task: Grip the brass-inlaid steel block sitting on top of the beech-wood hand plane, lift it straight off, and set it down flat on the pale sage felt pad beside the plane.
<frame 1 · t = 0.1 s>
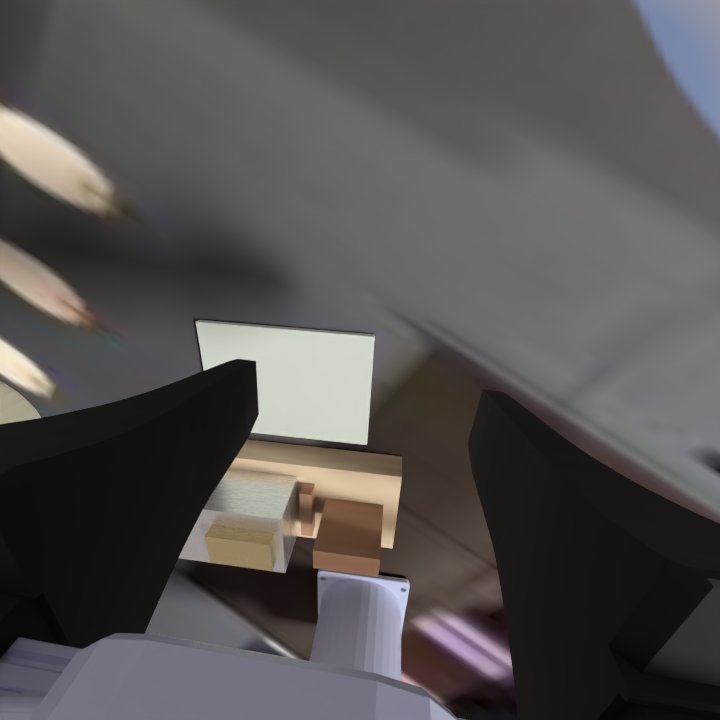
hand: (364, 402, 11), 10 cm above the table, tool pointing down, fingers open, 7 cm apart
felt pad: (287, 383, 23), on the table
hand plane: (254, 476, 27), on the table
brass-inlaid steel block: (244, 496, 25), point 2 cm above the table, touching hand plane
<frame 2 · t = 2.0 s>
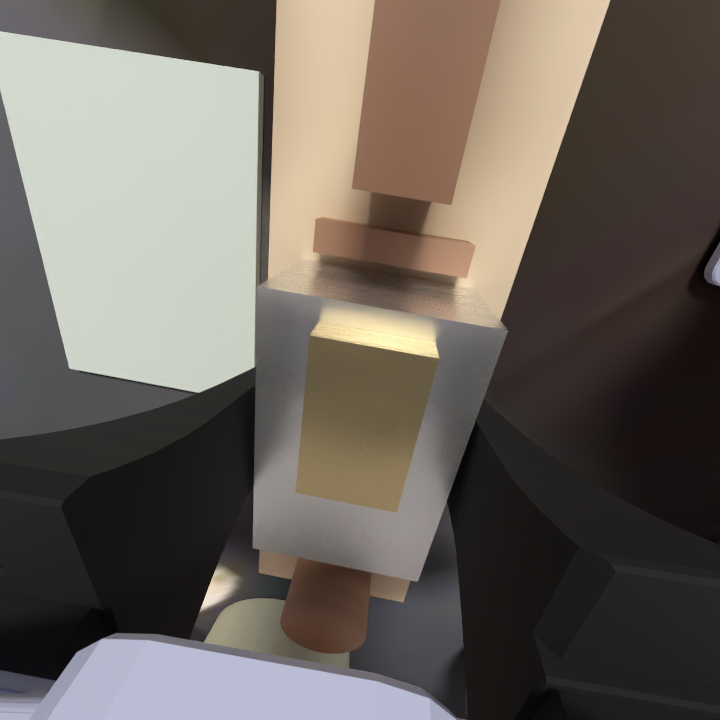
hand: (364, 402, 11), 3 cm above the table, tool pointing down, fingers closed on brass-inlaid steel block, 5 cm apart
reusable coffee cup: (283, 636, 23), on the table
felt pad: (151, 249, 12), on the table
hand plane: (370, 365, 14), on the table
brass-inlaid steel block: (366, 391, 12), point 2 cm above the table, touching gripper, hand plane
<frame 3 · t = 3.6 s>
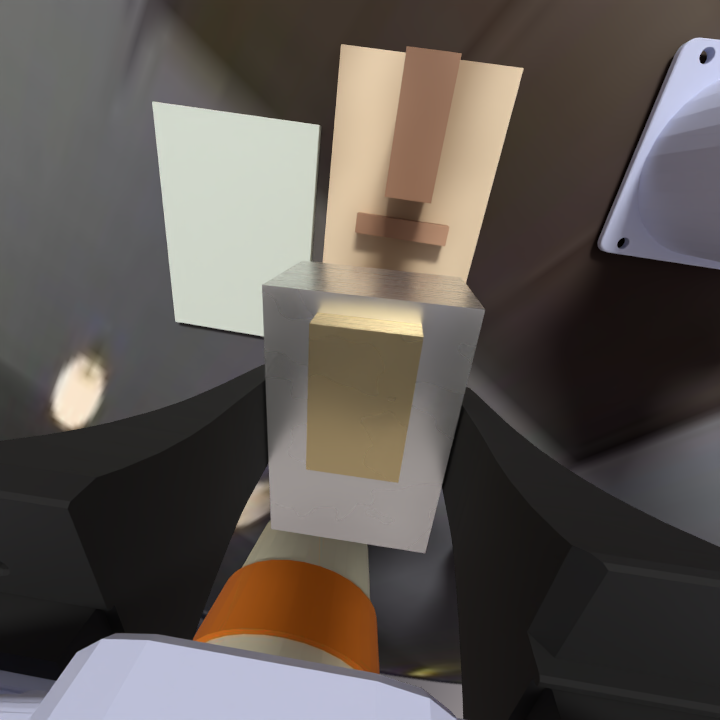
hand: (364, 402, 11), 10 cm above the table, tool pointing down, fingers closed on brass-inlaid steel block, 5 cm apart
reusable coffee cup: (315, 544, 29), on the table
felt pad: (240, 236, 19), on the table
hand plane: (385, 313, 20), on the table
brass-inlaid steel block: (368, 380, 13), point 8 cm above the table, touching gripper
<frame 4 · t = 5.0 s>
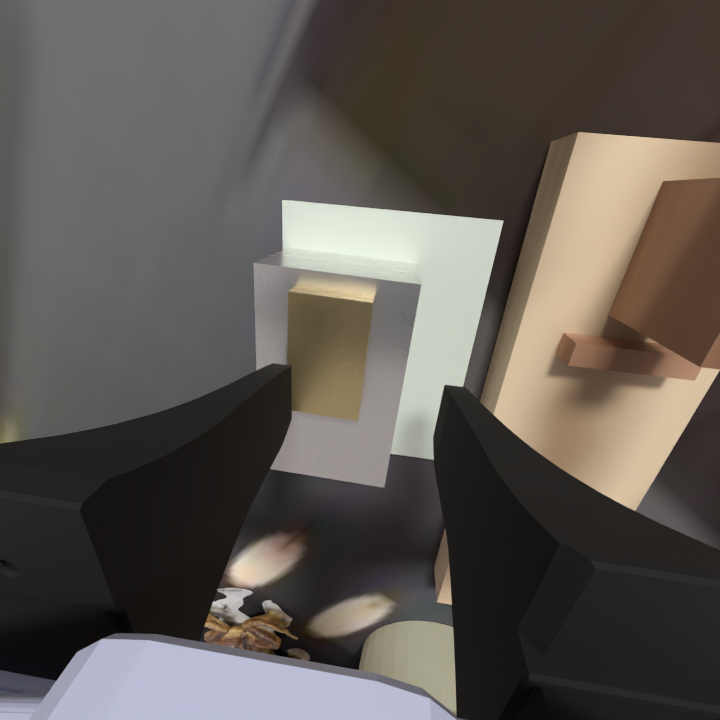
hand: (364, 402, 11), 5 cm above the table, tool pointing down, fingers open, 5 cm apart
reusable coffee cup: (423, 653, 25), on the table
felt pad: (375, 345, 15), on the table
hand plane: (552, 427, 16), on the table
frog figurine: (258, 624, 27), on the table
brass-inlaid steel block: (343, 349, 15), resting on felt pad, touching gripper
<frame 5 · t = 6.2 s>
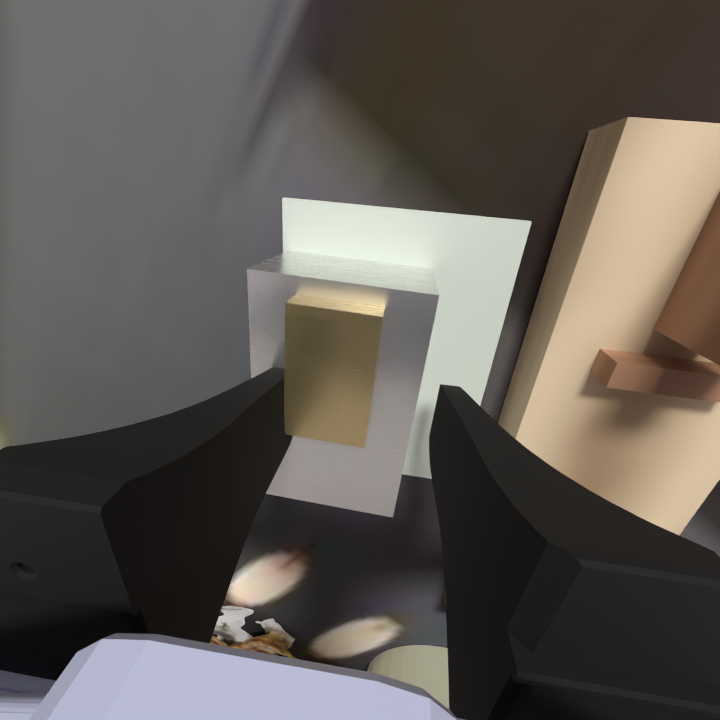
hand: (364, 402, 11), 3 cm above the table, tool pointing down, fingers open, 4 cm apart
reusable coffee cup: (431, 678, 24), on the table
felt pad: (384, 358, 14), on the table
hand plane: (578, 448, 15), on the table
frog figurine: (259, 643, 26), on the table
brass-inlaid steel block: (349, 362, 14), resting on felt pad, touching gripper
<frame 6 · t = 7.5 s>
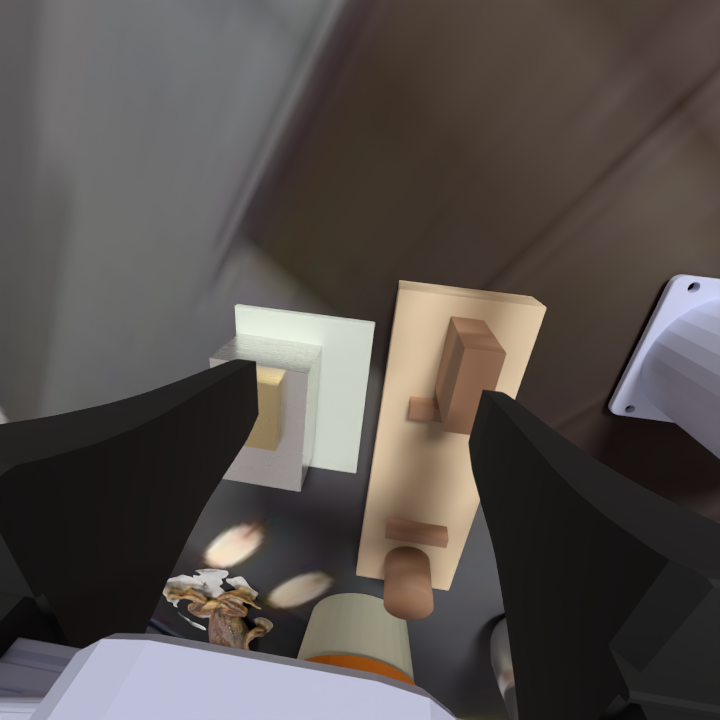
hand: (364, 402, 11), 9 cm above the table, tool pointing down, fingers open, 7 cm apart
reusable coffee cup: (358, 620, 33), on the table
felt pad: (303, 394, 22), on the table
plastic bottle: (523, 621, 30), on the table
hand plane: (426, 450, 23), on the table
frog figurine: (231, 600, 34), on the table
brass-inlaid steel block: (278, 397, 22), resting on felt pad
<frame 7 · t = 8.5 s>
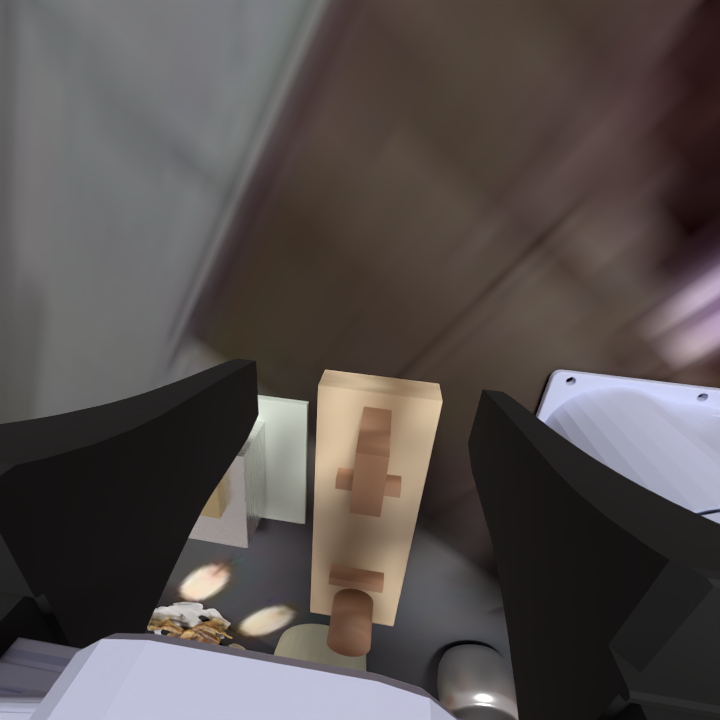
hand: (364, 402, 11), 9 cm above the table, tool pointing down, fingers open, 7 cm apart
reusable coffee cup: (322, 647, 35), on the table
felt pad: (253, 458, 25), on the table
plastic bottle: (470, 650, 33), on the table
hand plane: (365, 505, 26), on the table
frog figurine: (208, 628, 37), on the table
brass-inlaid steel block: (231, 461, 25), resting on felt pad
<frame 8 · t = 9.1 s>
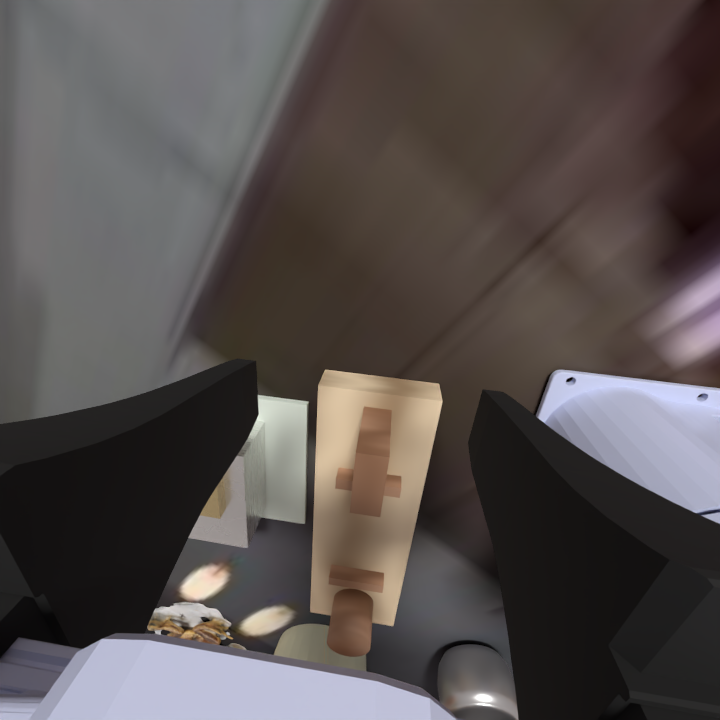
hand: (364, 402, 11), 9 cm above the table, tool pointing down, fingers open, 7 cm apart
reusable coffee cup: (322, 647, 35), on the table
felt pad: (253, 458, 25), on the table
plastic bottle: (470, 650, 33), on the table
hand plane: (365, 505, 26), on the table
frog figurine: (208, 628, 37), on the table
brass-inlaid steel block: (231, 461, 25), resting on felt pad
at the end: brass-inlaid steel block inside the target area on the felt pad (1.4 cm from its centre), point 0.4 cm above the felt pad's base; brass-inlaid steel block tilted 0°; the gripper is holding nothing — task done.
